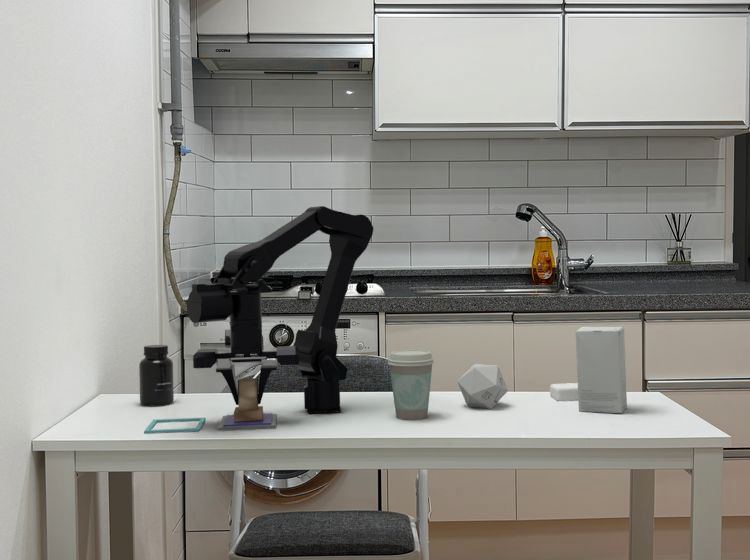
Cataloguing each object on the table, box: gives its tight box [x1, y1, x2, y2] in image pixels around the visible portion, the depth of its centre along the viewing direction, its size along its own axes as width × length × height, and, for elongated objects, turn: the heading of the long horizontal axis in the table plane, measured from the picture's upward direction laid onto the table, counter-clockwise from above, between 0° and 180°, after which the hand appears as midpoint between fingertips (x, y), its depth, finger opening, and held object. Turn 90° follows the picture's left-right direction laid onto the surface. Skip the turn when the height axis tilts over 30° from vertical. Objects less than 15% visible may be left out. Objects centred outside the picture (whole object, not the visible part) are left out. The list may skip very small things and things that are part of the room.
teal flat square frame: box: [143, 417, 207, 434], centre depth 151 cm, size 10×10×1 cm
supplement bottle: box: [138, 344, 175, 406], centre depth 173 cm, size 7×7×12 cm
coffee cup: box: [387, 349, 435, 421], centre depth 155 cm, size 9×8×12 cm
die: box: [456, 363, 509, 410], centre depth 164 cm, size 8×9×10 cm
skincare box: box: [575, 326, 628, 414], centre depth 157 cm, size 8×7×16 cm
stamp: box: [233, 377, 264, 422], centre depth 152 cm, size 5×5×7 cm
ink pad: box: [217, 412, 278, 431], centre depth 153 cm, size 10×10×1 cm
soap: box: [549, 382, 578, 402], centre depth 170 cm, size 9×6×3 cm, turn 96°
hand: (248, 404), depth 152 cm, fingers closed on stamp, 4 cm apart
